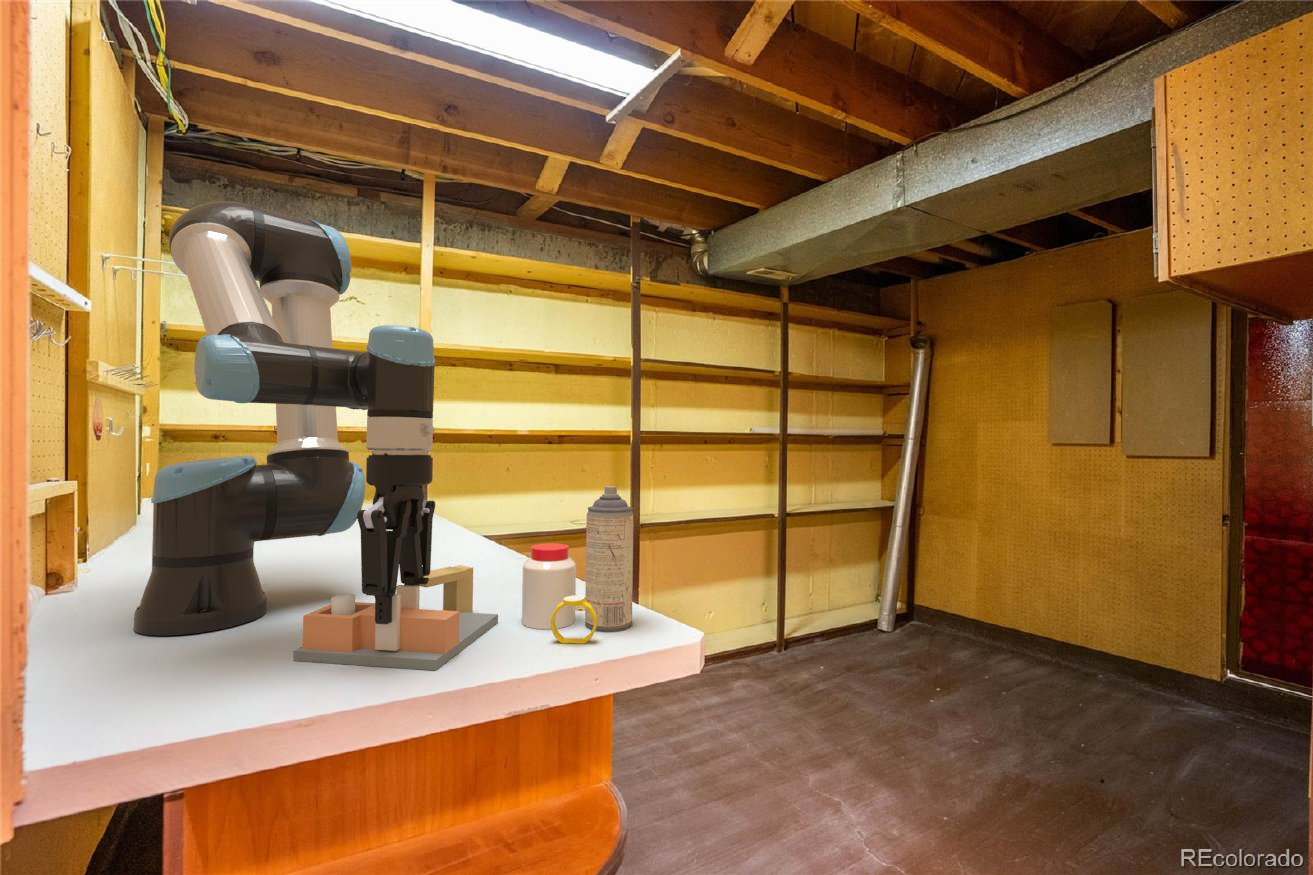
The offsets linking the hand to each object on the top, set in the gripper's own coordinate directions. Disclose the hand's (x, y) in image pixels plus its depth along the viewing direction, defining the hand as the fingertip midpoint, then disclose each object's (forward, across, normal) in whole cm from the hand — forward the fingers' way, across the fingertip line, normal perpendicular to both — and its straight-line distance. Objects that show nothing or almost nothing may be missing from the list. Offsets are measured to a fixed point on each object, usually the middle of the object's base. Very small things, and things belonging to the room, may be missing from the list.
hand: (397, 642), depth 72 cm
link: (0, 0, +2) cm, 2 cm away
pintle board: (+1, +7, +2) cm, 8 cm away
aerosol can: (+2, +16, -23) cm, 28 cm away
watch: (+2, +8, -20) cm, 22 cm away
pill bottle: (+2, +16, -14) cm, 21 cm away
